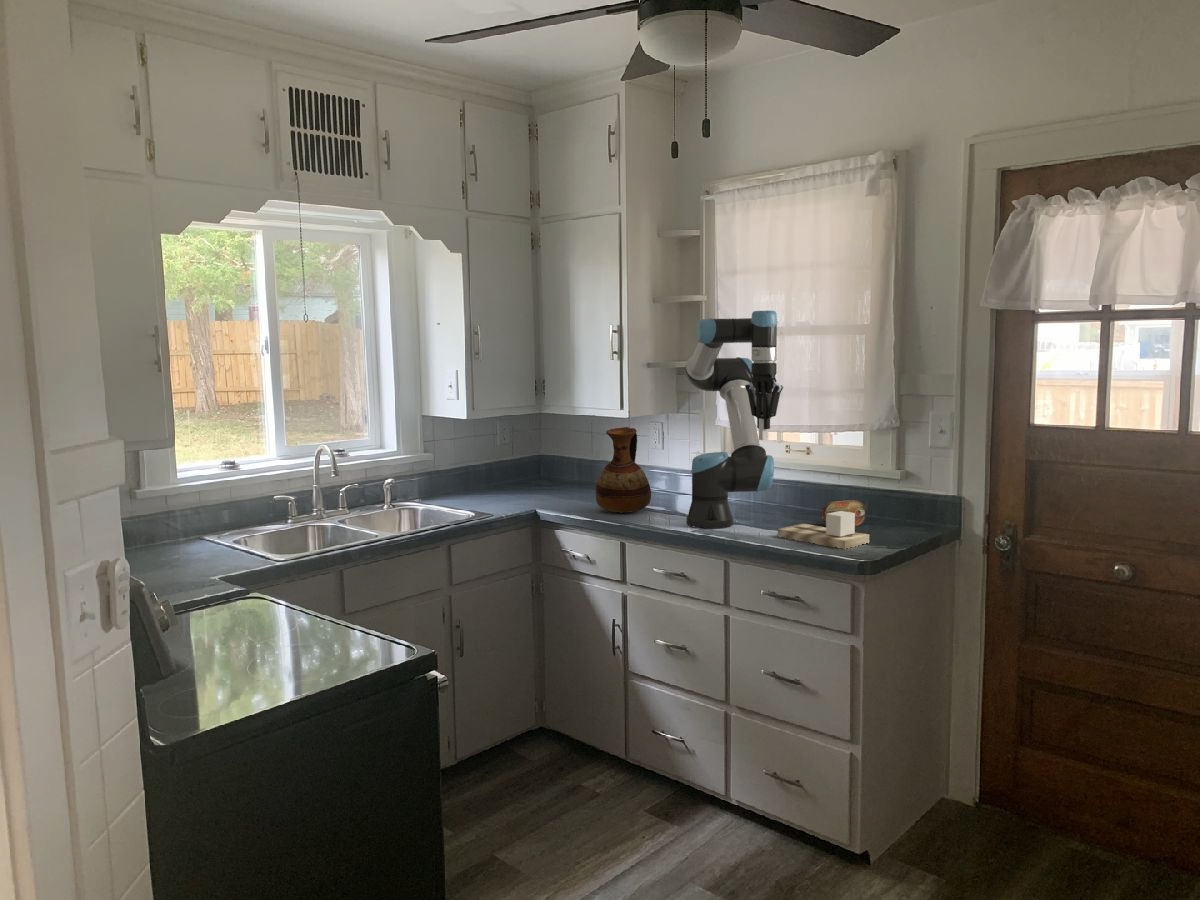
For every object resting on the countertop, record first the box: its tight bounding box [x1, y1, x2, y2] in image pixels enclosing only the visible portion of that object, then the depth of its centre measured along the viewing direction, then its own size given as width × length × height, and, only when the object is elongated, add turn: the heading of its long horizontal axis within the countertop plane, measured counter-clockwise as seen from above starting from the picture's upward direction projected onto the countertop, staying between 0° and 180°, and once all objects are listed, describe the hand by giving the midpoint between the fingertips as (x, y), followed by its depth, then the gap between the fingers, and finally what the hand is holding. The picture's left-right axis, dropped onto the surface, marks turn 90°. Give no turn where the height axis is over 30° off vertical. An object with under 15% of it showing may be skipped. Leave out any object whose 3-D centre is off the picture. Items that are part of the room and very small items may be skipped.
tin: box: [821, 499, 867, 527], centre depth 295 cm, size 15×3×8 cm, turn 106°
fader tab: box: [825, 511, 856, 537], centre depth 270 cm, size 5×7×6 cm
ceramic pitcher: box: [595, 426, 652, 514], centre depth 328 cm, size 20×20×30 cm
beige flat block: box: [777, 523, 870, 550], centre depth 275 cm, size 24×12×3 cm, turn 40°
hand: (763, 439), depth 282 cm, fingers closed
